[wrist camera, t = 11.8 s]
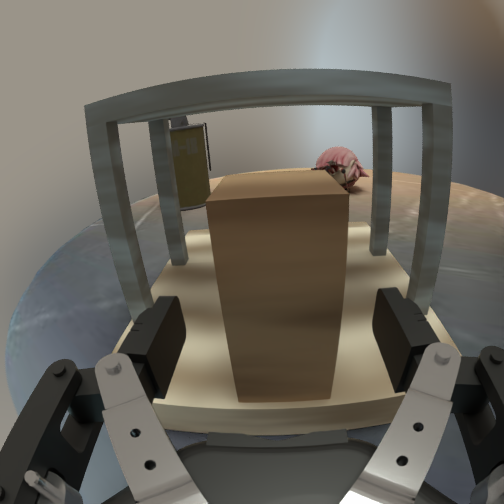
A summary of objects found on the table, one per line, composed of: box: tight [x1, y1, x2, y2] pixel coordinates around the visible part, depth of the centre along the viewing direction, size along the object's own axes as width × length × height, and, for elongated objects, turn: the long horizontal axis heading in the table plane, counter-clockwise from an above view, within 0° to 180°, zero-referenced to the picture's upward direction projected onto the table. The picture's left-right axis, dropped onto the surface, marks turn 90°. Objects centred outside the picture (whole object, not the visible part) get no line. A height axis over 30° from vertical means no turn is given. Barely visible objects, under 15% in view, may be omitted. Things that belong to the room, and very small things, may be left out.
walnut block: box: [205, 170, 349, 403], centre depth 15 cm, size 5×5×11 cm
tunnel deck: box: [84, 69, 462, 435], centre depth 24 cm, size 28×24×20 cm
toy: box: [311, 147, 369, 192], centre depth 64 cm, size 12×11×15 cm
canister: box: [168, 116, 211, 211], centre depth 62 cm, size 11×10×20 cm
